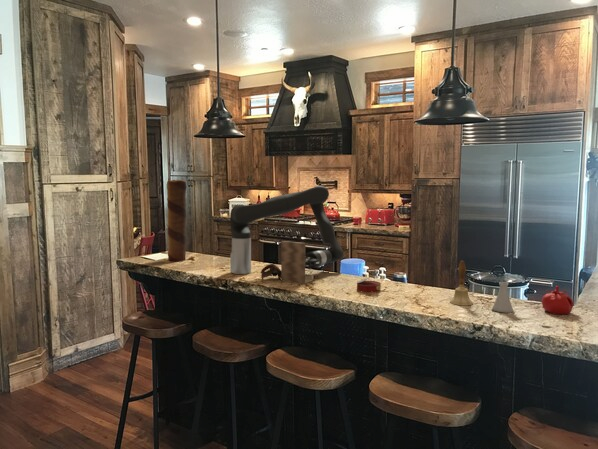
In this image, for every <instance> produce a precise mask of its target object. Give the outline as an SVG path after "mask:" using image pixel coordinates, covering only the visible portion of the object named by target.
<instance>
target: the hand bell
mask: <svg viewBox="0 0 598 449" xmlns="http://www.w3.org/2000/svg"><path fill="white" fill-rule="evenodd" d="M466 270H467V268H466V264H465V261H464V260H460V262H459V265H458V270H457V271H458V275H459V282H458V283H459V286H458V287H456V288H455V290H454V294H453V297H452V298H451V299H450V300H449V303H450V304H452V305H455V306H463V307H464V306H465V307H466V306H467V307H469V306H472V305H473V304H474V302H473V301H472V299H471V298H470V296H469V290H468V288H466V287H465V277H466V276H465V275H466Z"/></svg>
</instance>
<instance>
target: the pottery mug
mask: <svg viewBox="0 0 598 449" xmlns="http://www.w3.org/2000/svg"><path fill="white" fill-rule="evenodd" d="M260 275H261V276H260V277H261V280H263V281H264V278H268V277H277V279H281V269H280V268H279V266H277V265H275V264H274V263H270V264H267V265H266V266H264V267H263V268H262V269H261V271H260Z"/></svg>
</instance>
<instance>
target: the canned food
mask: <svg viewBox="0 0 598 449" xmlns="http://www.w3.org/2000/svg"><path fill="white" fill-rule="evenodd" d="M378 273H379V271H376V272H373V273H372V275H370V276H369V277H366V278H364V279H362V280H359V281H357V282H356V290H357V292H361V291H362V293H370V294H371V293H379V292H380V291H381V289H382V288H381V286H382V285H381V282H379V281H376V280H368V279H370V278H372V277H373V276H375V275H377V274H378Z"/></svg>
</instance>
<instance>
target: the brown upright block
mask: <svg viewBox="0 0 598 449" xmlns="http://www.w3.org/2000/svg"><path fill="white" fill-rule="evenodd" d="M280 242H281V244H280V245H281V247H280V248H281V253H280V254H281V258H280V260H281V261H280V262H281V267H280V268H281V269H280V270H281V278H280V280H281V282H288V283H294V284H301V285H305V284H306V283H311V282H313V281H314V275H313V274H307V273H306V266H305V255H306V242H300V241H299V242H296V241H287V240H281V241H280Z"/></svg>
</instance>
